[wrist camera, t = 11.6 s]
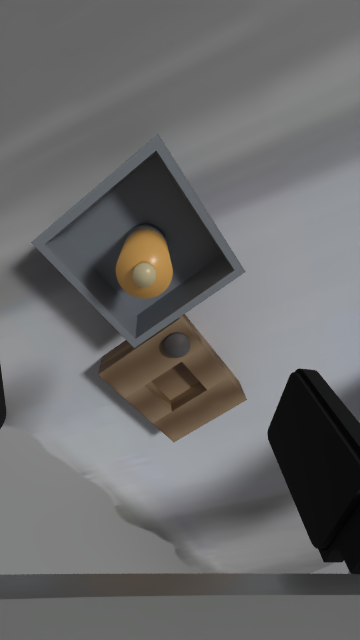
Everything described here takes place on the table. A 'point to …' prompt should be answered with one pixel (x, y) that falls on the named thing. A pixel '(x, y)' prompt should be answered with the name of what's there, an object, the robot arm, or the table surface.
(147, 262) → the cylinder
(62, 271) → the bin
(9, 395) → the table surface
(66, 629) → the robot arm
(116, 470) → the table surface
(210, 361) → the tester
